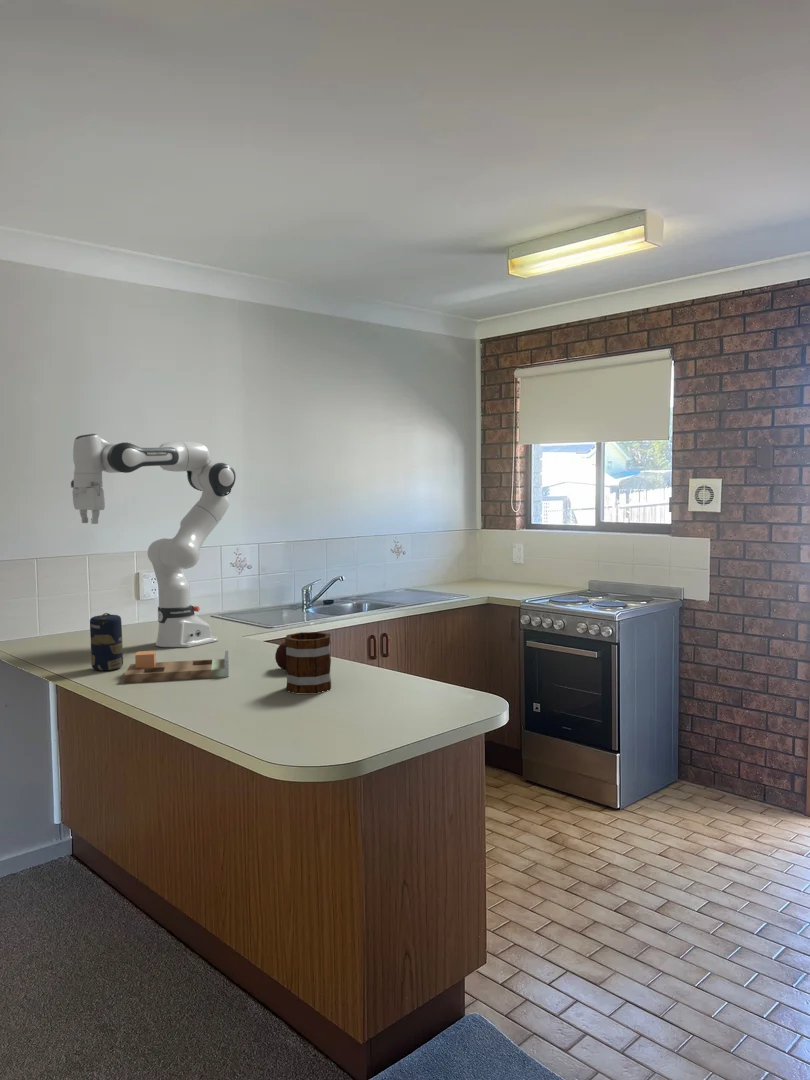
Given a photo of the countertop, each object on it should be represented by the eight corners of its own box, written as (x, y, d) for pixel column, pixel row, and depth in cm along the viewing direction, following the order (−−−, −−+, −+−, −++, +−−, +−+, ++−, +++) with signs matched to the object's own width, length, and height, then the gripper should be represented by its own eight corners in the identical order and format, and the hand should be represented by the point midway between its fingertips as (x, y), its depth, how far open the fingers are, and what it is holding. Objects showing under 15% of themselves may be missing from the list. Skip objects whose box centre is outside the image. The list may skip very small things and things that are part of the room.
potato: (293, 664, 255) (292, 636, 254) (312, 671, 245) (311, 642, 245) (269, 669, 250) (268, 640, 249) (287, 675, 240) (287, 645, 239)
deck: (124, 683, 233) (124, 674, 233) (130, 671, 248) (130, 663, 248) (225, 677, 239) (224, 668, 239) (225, 666, 254) (225, 658, 254)
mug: (319, 696, 216) (318, 641, 215) (276, 692, 221) (275, 639, 220) (349, 679, 234) (348, 629, 233) (308, 676, 239) (307, 627, 238)
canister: (129, 667, 255) (127, 611, 254) (107, 673, 246) (105, 616, 245) (107, 664, 259) (105, 610, 258) (84, 670, 250) (82, 614, 249)
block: (135, 668, 242) (135, 655, 241) (137, 664, 247) (137, 651, 247) (154, 666, 243) (153, 654, 243) (156, 663, 248) (155, 650, 248)
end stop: (225, 677, 239) (224, 660, 239) (225, 666, 254) (225, 650, 254) (228, 676, 239) (228, 660, 239) (228, 666, 254) (228, 650, 254)
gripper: (109, 481, 259) (110, 523, 260) (87, 482, 275) (89, 522, 275) (89, 481, 255) (91, 524, 256) (68, 482, 270) (70, 523, 271)
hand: (89, 523), depth 266 cm, fingers open, 8 cm apart
